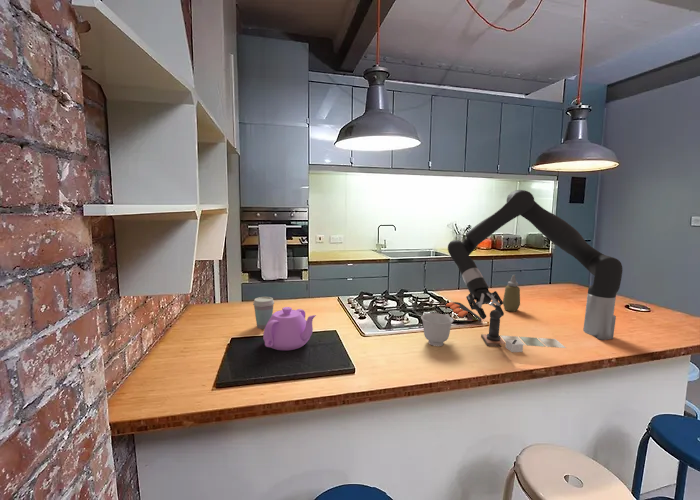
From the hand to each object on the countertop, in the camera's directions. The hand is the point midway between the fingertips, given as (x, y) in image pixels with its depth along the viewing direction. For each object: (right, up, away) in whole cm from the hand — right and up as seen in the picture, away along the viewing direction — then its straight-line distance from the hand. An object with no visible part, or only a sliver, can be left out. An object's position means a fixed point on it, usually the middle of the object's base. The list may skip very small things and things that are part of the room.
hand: (493, 317), depth 131 cm
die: (+4, -11, -9) cm, 15 cm away
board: (+11, -10, -1) cm, 15 cm away
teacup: (-22, -10, -1) cm, 24 cm away
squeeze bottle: (+26, -5, +41) cm, 49 cm away
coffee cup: (-92, -7, +12) cm, 93 cm away
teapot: (-77, -9, -6) cm, 77 cm away
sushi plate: (-11, -6, +34) cm, 36 cm away
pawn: (0, -8, 0) cm, 9 cm away
